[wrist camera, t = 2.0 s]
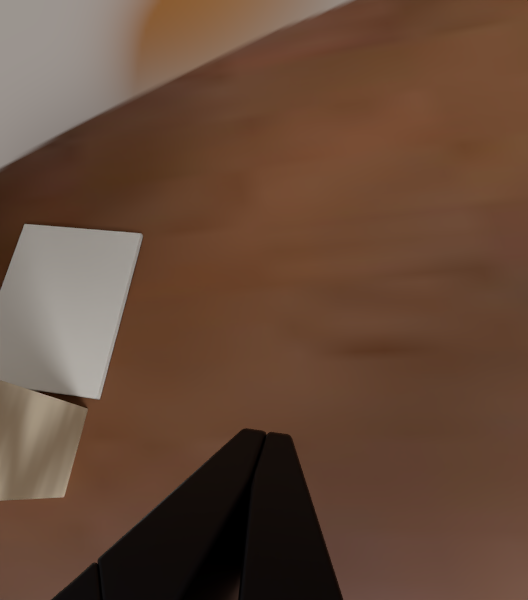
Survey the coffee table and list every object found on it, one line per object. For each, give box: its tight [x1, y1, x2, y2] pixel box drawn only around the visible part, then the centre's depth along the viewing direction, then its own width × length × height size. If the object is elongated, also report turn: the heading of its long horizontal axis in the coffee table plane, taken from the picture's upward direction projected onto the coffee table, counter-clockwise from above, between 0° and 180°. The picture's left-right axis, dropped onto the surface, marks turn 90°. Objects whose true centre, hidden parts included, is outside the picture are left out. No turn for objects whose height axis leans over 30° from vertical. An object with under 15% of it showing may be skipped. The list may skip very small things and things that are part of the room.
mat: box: [0, 224, 143, 399], centre depth 25 cm, size 9×7×1 cm
